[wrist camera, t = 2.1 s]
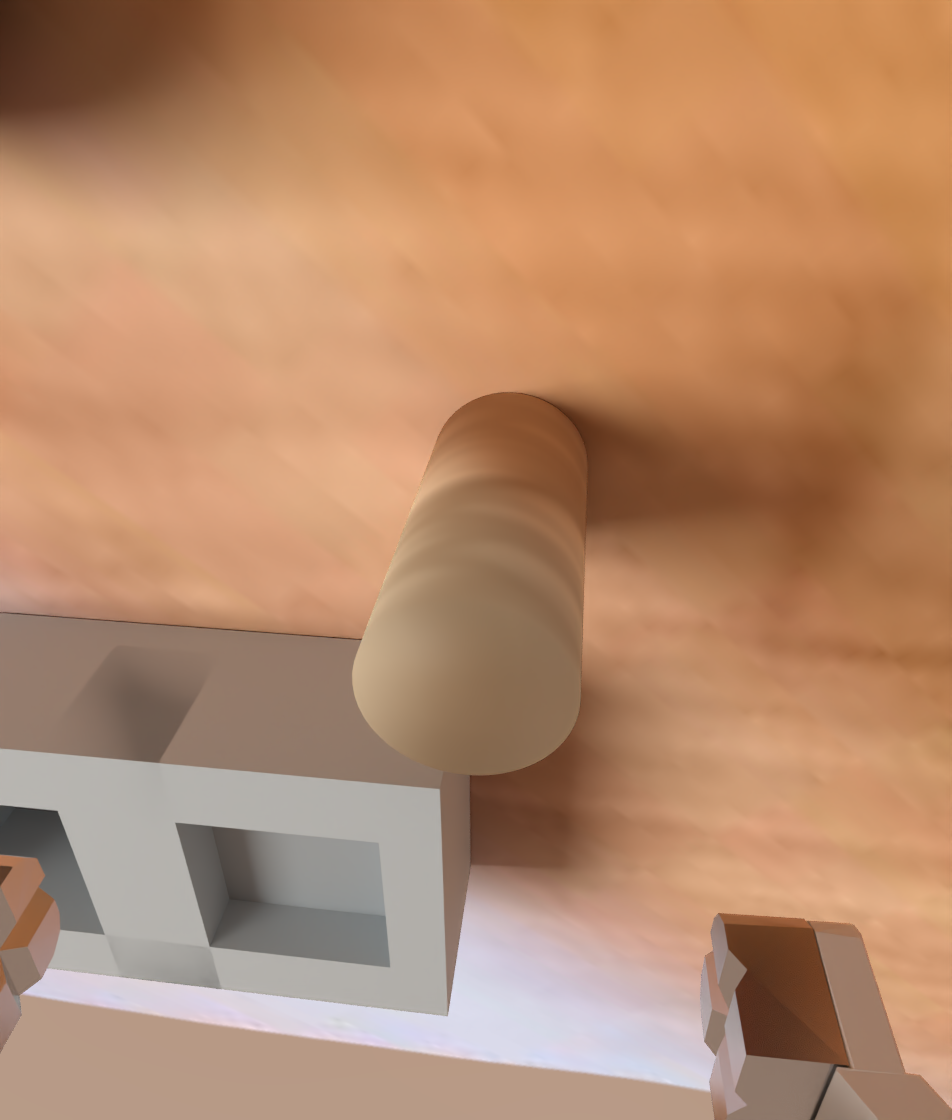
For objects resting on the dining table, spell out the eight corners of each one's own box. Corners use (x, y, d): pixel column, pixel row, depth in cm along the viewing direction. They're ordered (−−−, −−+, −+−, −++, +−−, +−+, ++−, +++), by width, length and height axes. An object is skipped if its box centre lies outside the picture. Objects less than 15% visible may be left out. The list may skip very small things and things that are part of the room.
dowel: (593, 396, 19) (588, 608, 12) (582, 536, 21) (573, 784, 14) (431, 388, 19) (342, 591, 13) (435, 527, 21) (360, 764, 15)
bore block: (468, 648, 23) (439, 789, 19) (470, 866, 28) (447, 1016, 24) (-83, 606, 25) (-221, 728, 21) (8, 819, 30) (-88, 952, 26)
